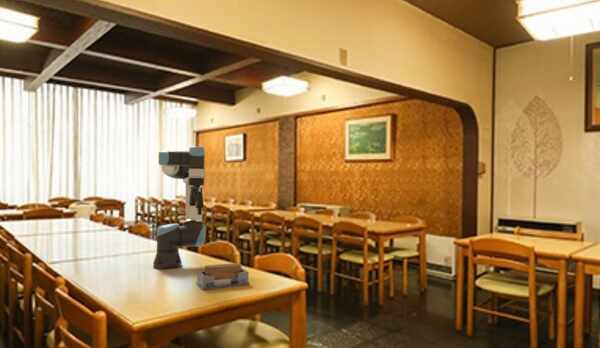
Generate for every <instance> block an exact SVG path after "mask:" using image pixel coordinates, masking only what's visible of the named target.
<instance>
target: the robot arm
mask: <svg viewBox="0 0 600 348" xmlns="http://www.w3.org/2000/svg"><path fill="white" fill-rule="evenodd" d="M188 149H189V151H187V150H186V151H183V150H182V151H180V150H179V151H177V150H166V149H165V150H159V152H158V165H159V166H161V170H162V172H163V174H164V175H166V176H167V177H169V178H172V179H176V180H182V182H183V183H184V184H185V220H184V222H183V223H182V226H181V225H180V224H179V223H169V224H168V223H167V224H163V225H160V226H158V227H157V231H156V232H157V233H156V253H155V256H154V260H153V263H152V266H153V268H155V269H161V270H167V269H168V270H169V269H177V268H179V267H181V266H182V264H183V263H182V259H181V256H180V253H179V250H180V249H179V248H186V247H202V246H203V245H204V244H205V239H206V232H207V226H206V225H204V221H203V208H204V198H203V187H201V186H204V185H205V179H206V169H205V155H206V151H205V147H204V146H195V145H194V146H189V148H188Z"/></svg>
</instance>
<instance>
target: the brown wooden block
mask: <svg viewBox="0 0 600 348" xmlns="http://www.w3.org/2000/svg"><path fill="white" fill-rule="evenodd" d="M241 267H242V264H240V263H239V262H234V263H219V264H205V265H204V271H205V276H207V275H215V280H223V279H234V278H237V272H241Z"/></svg>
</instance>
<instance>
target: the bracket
mask: <svg viewBox="0 0 600 348" xmlns="http://www.w3.org/2000/svg"><path fill="white" fill-rule="evenodd" d="M249 273H250V272H249V271H248V270H247V269H245V268H243V267H242V266H241V272H237V278H234V279H223V280H215V275H207V276H205V270H200V271H197V281H196V286H198V287H199V288H200V289H201V290H202V291H207V290H208V291H209V290H215V289H216V290H217V289H223V288H224V289H225V288H233V287H241V286H243V287H244V286H249V285H250V281H249Z"/></svg>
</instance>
